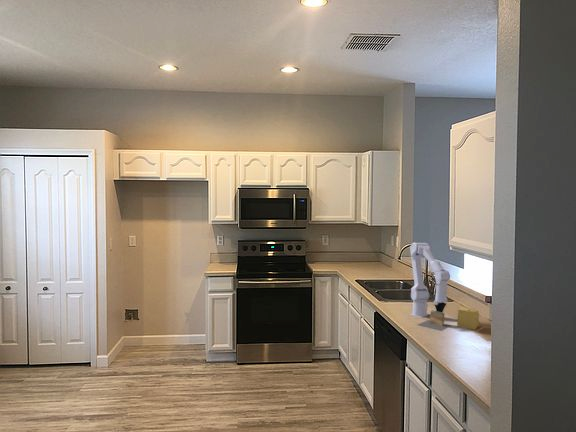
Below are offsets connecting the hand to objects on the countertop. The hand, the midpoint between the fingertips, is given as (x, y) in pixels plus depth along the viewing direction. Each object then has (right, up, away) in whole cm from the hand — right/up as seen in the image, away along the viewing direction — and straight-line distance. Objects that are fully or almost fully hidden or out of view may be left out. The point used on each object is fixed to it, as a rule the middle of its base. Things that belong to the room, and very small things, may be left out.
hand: (439, 315), depth 271 cm
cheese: (+15, -6, -1) cm, 17 cm away
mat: (-4, -5, -4) cm, 8 cm away
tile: (-2, -5, -2) cm, 5 cm away
